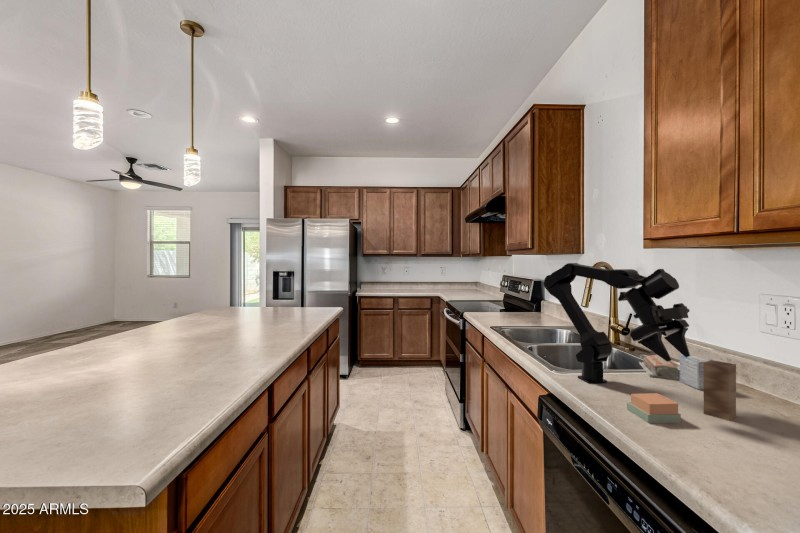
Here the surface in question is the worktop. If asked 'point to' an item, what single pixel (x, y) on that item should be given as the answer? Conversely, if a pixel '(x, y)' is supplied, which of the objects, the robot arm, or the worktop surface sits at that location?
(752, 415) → the worktop surface
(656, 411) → the tower top
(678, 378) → the packaged product
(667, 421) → the tower base
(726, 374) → the walnut block
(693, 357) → the medicine box
